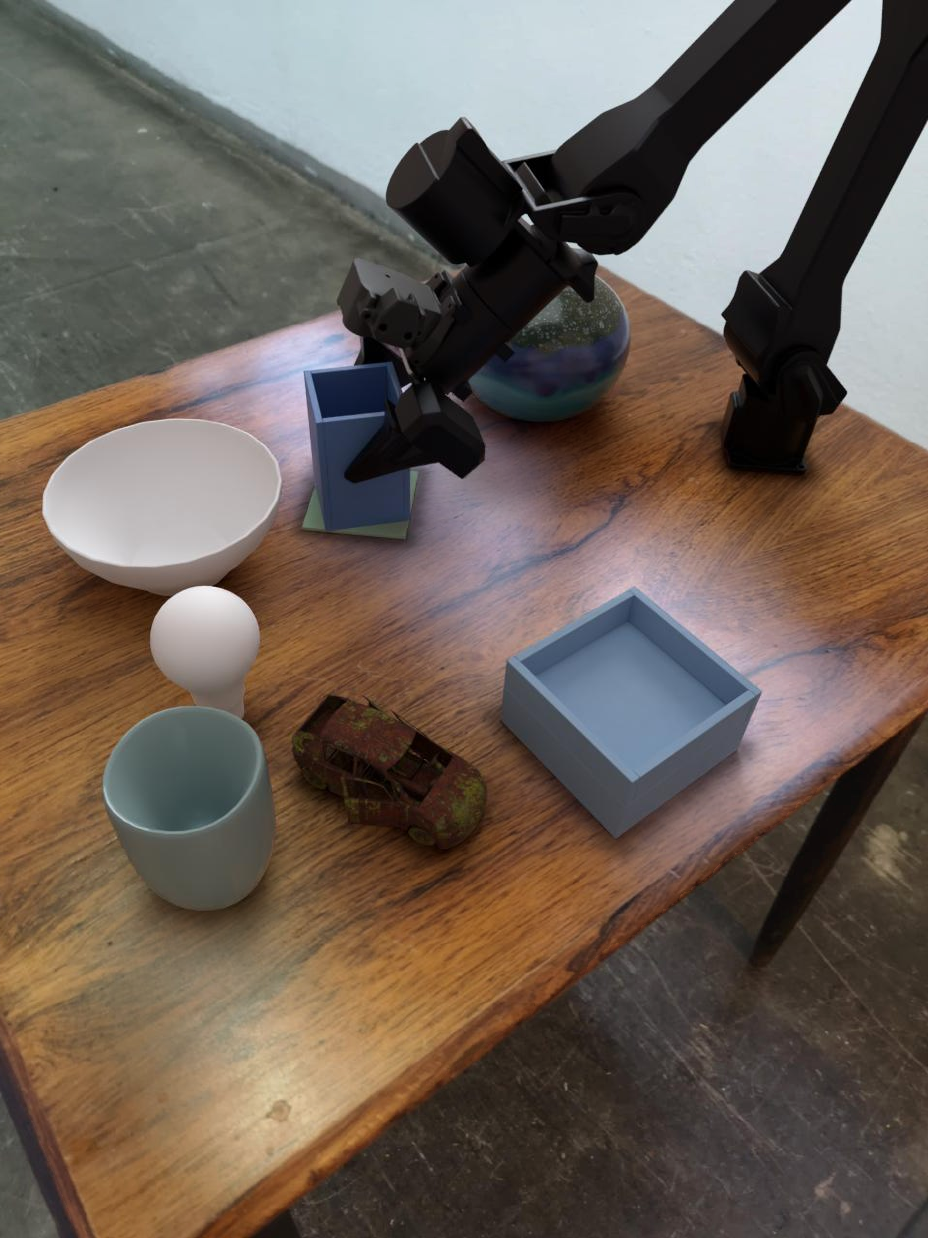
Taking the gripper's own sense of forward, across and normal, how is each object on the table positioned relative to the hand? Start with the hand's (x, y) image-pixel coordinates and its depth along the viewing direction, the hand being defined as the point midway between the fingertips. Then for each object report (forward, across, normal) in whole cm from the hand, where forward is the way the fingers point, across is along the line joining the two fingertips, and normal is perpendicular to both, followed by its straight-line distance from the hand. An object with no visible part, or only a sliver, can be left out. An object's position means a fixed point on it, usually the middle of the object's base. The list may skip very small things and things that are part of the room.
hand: (340, 449), depth 72 cm
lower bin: (-6, +26, +13) cm, 30 cm away
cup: (+12, +30, -5) cm, 33 cm away
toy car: (+5, +27, +3) cm, 28 cm away
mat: (+3, 0, +5) cm, 6 cm away
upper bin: (+3, 0, +5) cm, 5 cm away
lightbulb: (+12, +20, -4) cm, 23 cm away
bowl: (+13, +4, -5) cm, 14 cm away
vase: (-10, -11, +17) cm, 23 cm away
